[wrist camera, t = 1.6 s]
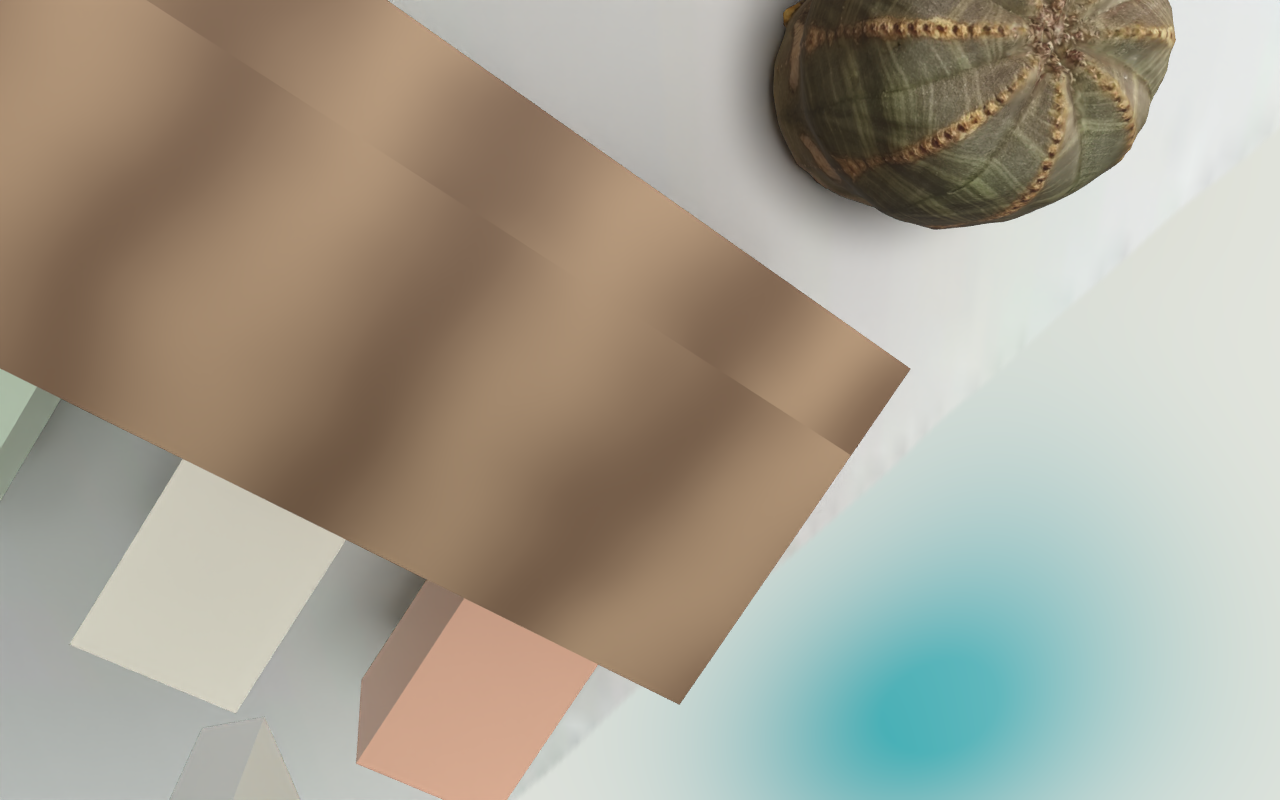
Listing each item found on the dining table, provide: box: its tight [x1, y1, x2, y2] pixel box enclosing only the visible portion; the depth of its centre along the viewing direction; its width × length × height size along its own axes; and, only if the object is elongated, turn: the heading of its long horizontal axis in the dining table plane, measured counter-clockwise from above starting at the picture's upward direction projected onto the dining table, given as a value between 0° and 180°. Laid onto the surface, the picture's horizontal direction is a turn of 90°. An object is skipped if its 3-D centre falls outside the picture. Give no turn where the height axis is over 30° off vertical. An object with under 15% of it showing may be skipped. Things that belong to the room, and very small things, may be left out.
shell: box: [773, 0, 1176, 229], centre depth 34 cm, size 11×11×12 cm
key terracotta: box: [356, 580, 598, 800], centre depth 34 cm, size 5×9×5 cm, turn 145°
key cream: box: [69, 459, 346, 714], centre depth 31 cm, size 5×9×5 cm, turn 145°
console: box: [0, 0, 910, 704], centre depth 31 cm, size 26×12×13 cm, turn 55°
